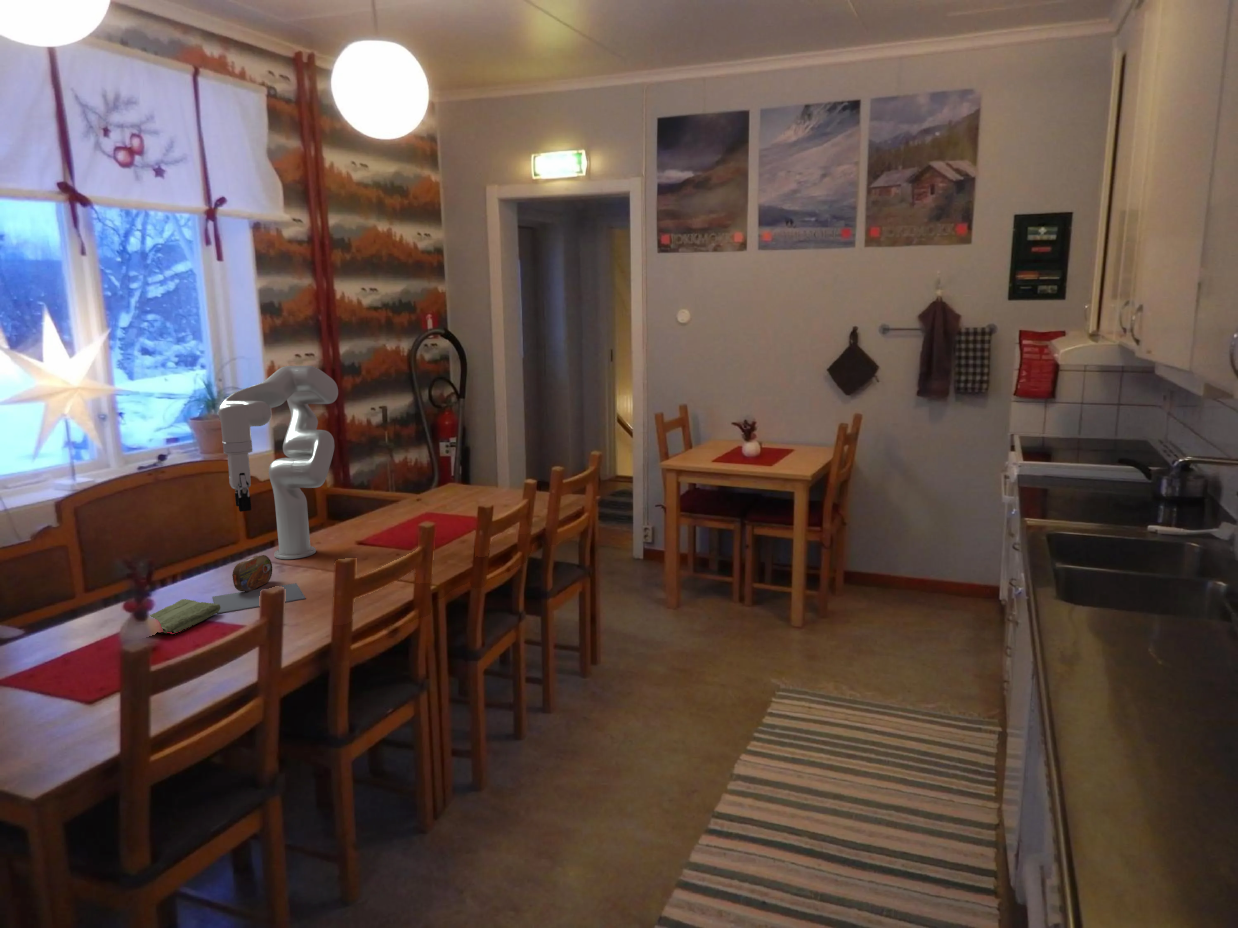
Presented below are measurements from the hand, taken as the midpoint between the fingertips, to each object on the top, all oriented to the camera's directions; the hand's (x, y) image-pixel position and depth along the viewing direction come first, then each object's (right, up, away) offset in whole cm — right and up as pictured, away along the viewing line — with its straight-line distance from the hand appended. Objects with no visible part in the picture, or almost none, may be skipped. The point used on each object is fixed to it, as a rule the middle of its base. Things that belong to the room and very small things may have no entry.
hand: (243, 507), depth 244 cm
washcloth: (-3, -28, -30) cm, 41 cm away
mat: (+9, -24, -12) cm, 29 cm away
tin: (+4, -23, -3) cm, 23 cm away
